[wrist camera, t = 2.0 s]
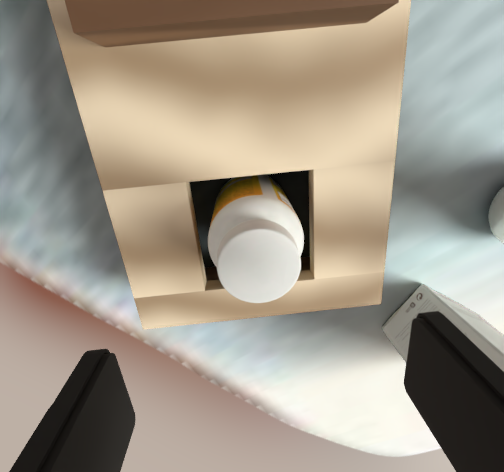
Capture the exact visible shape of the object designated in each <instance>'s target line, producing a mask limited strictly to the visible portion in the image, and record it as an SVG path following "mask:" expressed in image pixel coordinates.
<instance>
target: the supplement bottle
mask: <svg viewBox="0 0 504 472" xmlns="http://www.w3.org/2000/svg"><path fill="white" fill-rule="evenodd" d="M303 246H304V233H303V229H302V225H301V223H300V220H299V219H298V216H297V215H296V213H295V211H294V209H293V207H292V205H291V204H290V202H289V200H288V198H287V196H286V194H285V193H284V191H283V189H282V188H281V186H280V185H279V184H278V183H277V182H276V181H275V180H274V179H272V178H271V177H269V176H267V175H264V174H263V175H253V176H243V177H234V178H232V179H230V180H229V181H228V182H227V183H226V184H225V185H224V186H223V187H222V188H221V190H220V191H219V193H218V196H217V199H216V203H215V207H214V211H213V216H212V220H211V225H210V229H209V234H208V249H209V253H210V256H211V259H212V261H213V263H214V264H215V266H216V267H217V273H218V277H219V280H220V282H221V284H222V285H223V287H224V288H225V289H226V290H227V291H228V292H229V293H230V294H231V295H232V296H234V297H236V298H237V299H240V300H242V301H245V302H250V303H265V302H269V301H273V300H276V299H278V298H280V297H282V296H283V295H285V294H286V293H287V292H288V291H289V290H290V289H291V288H292V287H293V286H294V284H295V283H296V281H297V279H298V277H299V274H300V270H301V258H300V257H301V254H302V251H303Z"/></svg>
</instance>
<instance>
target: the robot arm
mask: <svg viewBox="0 0 504 472" xmlns="http://www.w3.org/2000/svg"><path fill="white" fill-rule="evenodd" d="M404 386H405V389H406V392H407V394H408V395H409V397H410V399H411V400H412V402H413V403H414V405H415V407H416V408H417V410H418V411H419V413H420V415H421V416H422V418H423V419H424V421H425V422H426V424H427V426H428V427H429V429H430V430H431V432H432V434H433V435H434V437H435V438H436V440H437V442H438V443H439V445H440V446H441V448H442V449H443V451H444V453H445V454H446V456H447V457H448V459H449V460H450V462H451V464H452V465H453V467H454V469H455V470H456V472H504V372H503V371H502V370H501V369H500V368H499V367H498V366H497V365H496V364H495V363H494V362H493V361H492V360H491V359H490V358H489V357H488V356H487V355H486V354H484V353H483V352H482V351H481V350H480V349H479V348H478V347H477V346H476V345H475V344H474V343H473V342H472V341H471V340H470V339H469V338H468V337H467V336H465V335H464V334H463V333H462V332H461V331H460V330H459V329H458V328H457V327H456V326H455V325H454V324H453V323H452V322H451V321H450V320H449V319H448V318H446V317H445V316H444V315H443V314H442V313H441V312H439V311H433V312H424V313H419V314H418V315H417V317H416V318H415V319H413V320H412V325H411V332H410V340H409V347H408V355H407V363H406V370H405V378H404ZM134 425H135V412H134V410H133V407H132V404H131V401H130V397H129V394H128V391H127V389H126V386H125V383H124V380H123V377H122V374H121V371H120V368H119V365H118V362H117V359H116V356H115V354H114V353H110V352H109V350H107V349H100V350H91V351H87V352H85V353H84V355H83V356H82V358H81V359H80V361H79V363H78V364H77V366H76V367H75V369H74V371H73V372H72V374H71V376H70V377H69V379H68V380H67V382H66V383H65V385H64V387H63V388H62V390H61V392H60V393H59V395H58V396H57V398H56V400H55V401H54V403H53V404H52V405H51V407H50V408H49V409H48V411H47V412H46V414H45V415H44V417H43V419H42V420H41V422H40V423H39V425H38V427H37V428H36V430H35V431H34V433H33V435H32V436H31V438H30V439H29V441H28V443H27V444H26V446H25V447H24V449H23V451H22V452H21V454H20V456H19V457H18V459H17V460H16V462H15V463H14V465H13V467H12V468H11V470H10V471H9V472H120V470H121V467H122V464H123V461H124V458H125V454H126V451H127V448H128V445H129V442H130V439H131V435H132V432H133V428H134Z"/></svg>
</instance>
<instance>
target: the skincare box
mask: <svg viewBox="0 0 504 472" xmlns="http://www.w3.org/2000/svg"><path fill="white" fill-rule="evenodd" d="M433 311H439V312H441V313H442V314H443V315H444V316H445V317H446V318H448V319H449V320H450V321H451V322H452V323H453V324H454V325H455V326H456V327H457V328H458V329H459V330H460V331H461V332H462V333H463V334H464V335H465V336H467V337H468V338H469V339H470V340H471V341H472V342H473V343H474V344H475V345H476V346H477V347H478V348H479V349H480V350H481V351H482V352H483V353H484V354H486V355H487V356H488V357H489V358H490V359H491V360H492V361H493V362H494V363H495V364H496V365H497V366H498V367H499V368H500V369H501V370H502V371H503V372H504V335H503V334H502V333H501V332H499V331H498V330H497V329H496V328H494V327H493V326H492V325H491V324H489V323H488V322H487V321H486V320H485V319H483V318H482V317H481V316H480V315H478V314H477V313H475V312H473V311H471V310H470V309H468V308H466V307H464V306H463V305H461V304H459V303H457V302H455V301H454V300H452V299H450V298H448V297H446V296H445V295H443V294H441V293H438V292H436V291H434V290H432V289H431V288H429V287H428V286H426V285H424V284H422V285H421V286H419V287H418V288H417V289H416V291H415V292H414V293H413V294H412V296H411V297H410V298H409V299H408V300H407V301H406V302H405V303H404V304H403V305H402V306H401V307H400V308H399V309H398V310H397V311H396V312H395V313H394V314H393V315H392V316H391V317H390V318H389V319H388V321H387V322H386V323H385V324H384V325H383V326H382V330H383V332H384V333H385V335H386V336H387V337H388V339H389V340H390V341H391V343H392V344H393V346H394V347H395V348H396V350H397V351H398V352H399V354H400V355H401V356H402V358H403V359H404V360H405V362H406V363H407V355H408V347H409V340H410V332H411V325H412V320H413V319H415V318H416V317H417V315H418V314H419V313H424V312H433Z"/></svg>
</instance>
